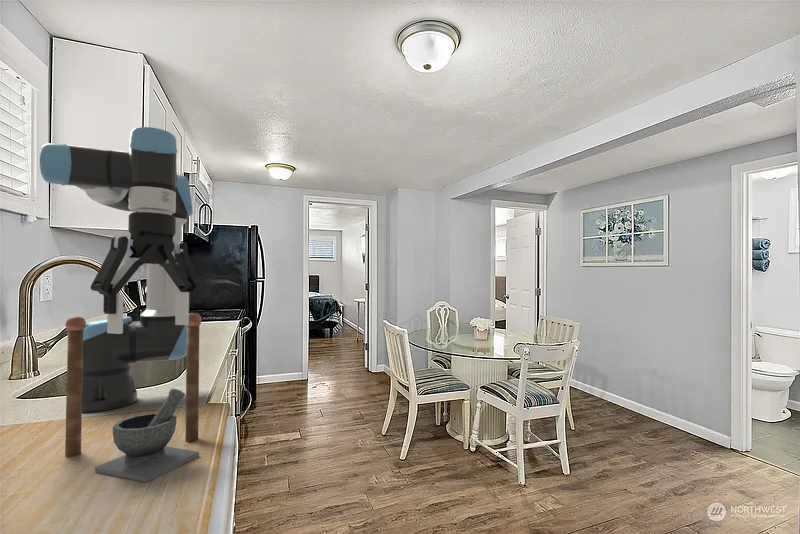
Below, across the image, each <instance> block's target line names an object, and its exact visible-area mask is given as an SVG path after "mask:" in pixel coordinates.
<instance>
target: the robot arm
mask: <svg viewBox="0 0 800 534" xmlns="http://www.w3.org/2000/svg"><path fill="white" fill-rule="evenodd" d="M129 137H130V138H129V143H128V148H129V151H122V150H111V149H104V148H103V149H101V148H93V147H86V146H79V145H78V146H77V145H70V144H68V143H60V144H59V143H45V144H43V145H42V147H41V149H40V152H39V170H40V174H41V177H42V178H43V180H44V181H45V182H46V183H48V184H56V185H61V186H74V187H77V188H79V189H80V190H82V191H84V192H85V193H86V195H87V196H88V197H89V198H90V199H91V200H93V201H94V202H95V203H98V204H101V205H103V206H105V207H109V208H112V209H116V210H118V211H124V212H125V211H126V212H130V213H129V214H128V232H129V234H130V238H128V237H127V236H121V235H120V236H112V238H111V242H110V248H109V251H108V253H107V255H106V256H105V258H104V260H103V262H102V264H101V265H100V268H99V270H98V271H97V273H96V276H95V277H94V279H93V281H92V282H91V284H90V290H91V291H93V292H98V293H99V294H100V295H103V309H102V310H103V313H104V315H107V317H106V319H105V318H104V319H100V320H99V319H98V320H93V321H88V322H86V327H85V328H84V332H83V380H82V413H93V412H101V411H102V412H103V411H109V410H115V409H118V408H123V407H126V406H130V405H131V404H134V403H136V402H137V400H138V390H137V388H136V384H135V383H134V380H133V377H132V374H131V364H137V363H138V364H139V363H140V364H141V363H147V362H148V363H149V362H150V363H151V362H160V361H161V362H162V361H166V362H170V361H173V360H180V359H183V358H184V357H186V348H187V326H186V325H189V314H190V308H191V305H192V293H193V292H196V291H197V289H199V288H200V287H201V284H200V280H199V278H198V276H197V273H196V271H195V268H194V265H193V262H192V260H191V257H190V255H189V248H188V243H187V242H183V241H182V227H183V226H184V225H185V224H186V223H187V222H188V216H189V217H190V216H192V215H193V213H194V212H193V202H192V195H191V189H190V188H191V187H190V183H189V179H188V177H186V176H184V175H181V174H178V172H177V169H178V168H177V167H178V166H177V154H178V148H177V138H176V136H175V135H174V134H173V133H171V132H169V131H167V130H165V129H162V128H157V127H149V126H140V127H135V128H133V129H132V130H131V131H130V136H129ZM129 249H130V251H131V252H130V253H129V255H128V256H127V257H126V258H125V256H126V254H127V251H128V250H129ZM124 258H125V259H124ZM123 260H124V261H125V262H124V263H122V261H123ZM121 264H122V265H121ZM145 264H146V308H145V310H143V311H142V312H141V313H140V315H139V320H136V321H135V320H134V321H132V320H133V319H132V317H131V316H124V294H118V293H120V292H121V290H122V289H123V288H124V287H125V286H126V283H128V282H129V281H130V279H131V278H132V277H133V276H134V275H135V273H136V272H137V271H138V269H139V268H140V267H141V266H143V265H145Z"/></svg>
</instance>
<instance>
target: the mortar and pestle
mask: <svg viewBox="0 0 800 534" xmlns="http://www.w3.org/2000/svg"><path fill="white" fill-rule="evenodd" d="M185 397H186V393H185V392H183V391H182V390H180V389H177V388H170V390H169V391H168V396H167V397H166V399H165V400H164V402H163V403H162V405H160V408H159V409H158V411H157V412H152V413H146V414H139V415H133V416H130V417H127V418H125V419H121V420H118V421H117V422H116V423H115V424H114V425H113V426H112V437H113V443H114V444H115V446H116V447H117V450H119V451H120V452H121V453H123V454H124V455H126V457H125V464H126V465H127V466H129V467H141V466H145V465H150V464H154V463H156V462H158V461H160V460H162V459H163V458H164V456H165V450H164V447H165V446H167V445H168V444H169V443H170V441H171V439H172V438H173V436H174V434H175V433H176V426H177V415H175V414H174V413H175V411H176V409H177V408H178V406H179V404H180V402H181V400H182V399H184V398H185Z"/></svg>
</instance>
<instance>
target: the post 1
mask: <svg viewBox="0 0 800 534" xmlns="http://www.w3.org/2000/svg"><path fill="white" fill-rule="evenodd" d="M86 323H87V320H86V319H85V318H84V317H82V316H80V315H74V316H71V317H69V318H68V319H67V320H66V322H65V328H66V330H67V352H66V353H67V358H66V359H67V360H66V366H67V367H66V399H65V400H66V401H65V403H66V405H65V409H66V410H65V440H64V441H65V444H64V446H65V450H64V457H75V456H79V455H80V454H81V453H82V425H83V424H82V423H83V422H82V421H83V420H82V419H83V418H82V416H83V415H82V414H83V412H82V380H83V332H84V328H85V327H86Z"/></svg>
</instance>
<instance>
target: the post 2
mask: <svg viewBox="0 0 800 534" xmlns="http://www.w3.org/2000/svg"><path fill="white" fill-rule="evenodd" d="M201 324H202V316H201V315H200V314H199V313H197V312H191V313H190V312H189V325H186V326H187V348H186V355H185V357H186V359H185V361H186V363H185V364H186V365H185V366H186V367H185V437H184V438H185V442H187V443H191V442H192V441H193V442H196V441H198V440H199V418H200V417H199V413H200V410H199V406H200V405H199V403H200V402H199V399H200V325H201Z"/></svg>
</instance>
